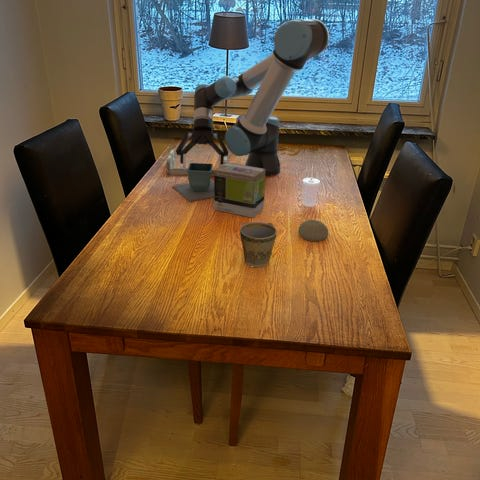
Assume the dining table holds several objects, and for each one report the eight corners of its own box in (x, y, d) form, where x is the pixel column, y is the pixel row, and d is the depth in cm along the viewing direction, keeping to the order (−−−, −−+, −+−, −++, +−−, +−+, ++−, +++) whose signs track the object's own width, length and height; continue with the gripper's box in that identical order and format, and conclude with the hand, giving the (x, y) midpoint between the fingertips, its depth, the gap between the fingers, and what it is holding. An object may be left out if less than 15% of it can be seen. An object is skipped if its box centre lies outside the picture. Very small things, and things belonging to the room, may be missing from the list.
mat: (228, 194, 173) (228, 193, 172) (189, 202, 165) (189, 200, 165) (209, 180, 185) (209, 179, 185) (172, 187, 178) (172, 185, 177)
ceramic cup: (263, 275, 124) (265, 242, 119) (231, 264, 128) (232, 231, 124) (285, 255, 134) (288, 224, 129) (255, 245, 138) (257, 215, 133)
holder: (172, 161, 204) (171, 148, 201) (227, 163, 204) (228, 150, 202) (167, 174, 190) (166, 160, 187) (226, 176, 190) (226, 162, 187)
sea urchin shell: (311, 241, 138) (302, 216, 140) (299, 249, 145) (291, 225, 147) (336, 235, 142) (327, 211, 143) (323, 243, 149) (314, 220, 150)
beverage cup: (320, 204, 167) (325, 167, 161) (310, 208, 163) (314, 171, 157) (306, 199, 171) (310, 162, 165) (296, 203, 167) (300, 166, 161)
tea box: (264, 208, 163) (266, 168, 156) (253, 219, 155) (255, 177, 148) (226, 200, 168) (226, 161, 161) (213, 210, 160) (213, 169, 153)
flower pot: (211, 194, 171) (211, 171, 167) (187, 193, 171) (187, 170, 167) (212, 185, 179) (213, 163, 175) (190, 185, 179) (189, 162, 175)
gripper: (234, 127, 188) (233, 175, 182) (172, 126, 187) (170, 174, 181) (234, 117, 181) (234, 167, 175) (170, 116, 180) (168, 166, 174)
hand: (201, 171), depth 178 cm, fingers open, 13 cm apart
